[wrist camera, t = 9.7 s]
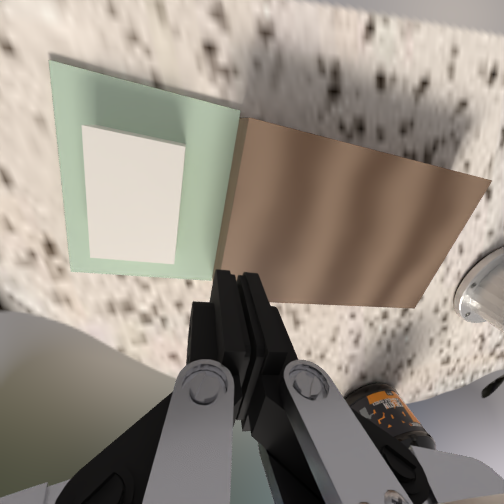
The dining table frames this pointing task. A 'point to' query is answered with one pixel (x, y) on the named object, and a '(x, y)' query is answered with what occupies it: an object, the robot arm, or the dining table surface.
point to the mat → (155, 125)
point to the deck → (338, 218)
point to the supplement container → (390, 414)
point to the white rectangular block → (132, 194)
